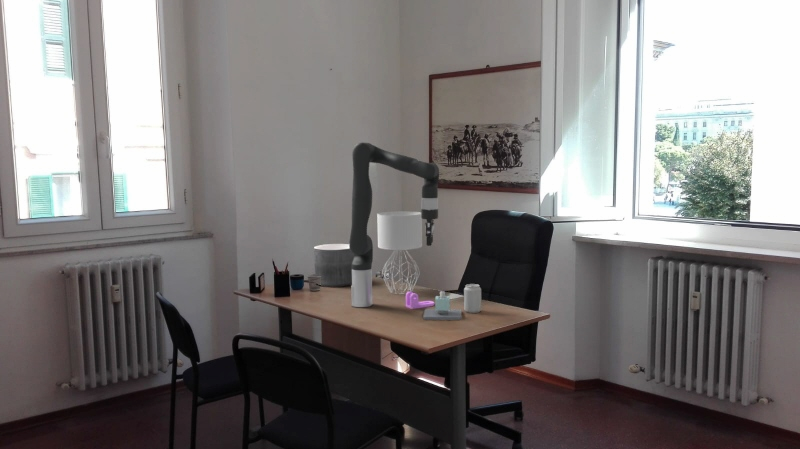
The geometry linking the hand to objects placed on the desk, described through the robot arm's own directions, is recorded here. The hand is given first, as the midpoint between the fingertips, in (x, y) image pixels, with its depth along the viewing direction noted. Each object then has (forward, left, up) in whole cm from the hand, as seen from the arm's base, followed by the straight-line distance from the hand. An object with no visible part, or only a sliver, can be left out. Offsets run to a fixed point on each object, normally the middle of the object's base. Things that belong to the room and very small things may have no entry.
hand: (429, 244), depth 293 cm
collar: (+6, -12, -27) cm, 30 cm away
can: (+19, -4, -30) cm, 36 cm away
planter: (-55, +57, -30) cm, 85 cm away
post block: (+6, -12, -30) cm, 32 cm away
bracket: (-5, +6, -30) cm, 31 cm away
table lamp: (-17, +36, -30) cm, 50 cm away
